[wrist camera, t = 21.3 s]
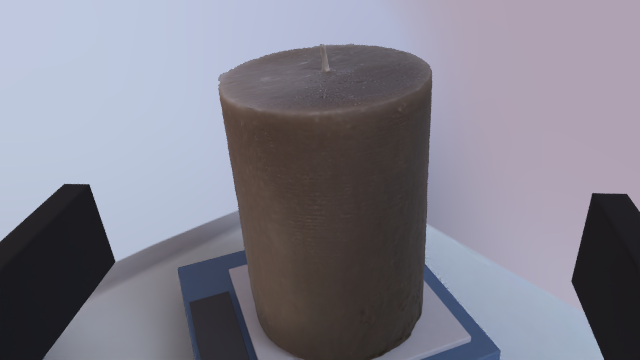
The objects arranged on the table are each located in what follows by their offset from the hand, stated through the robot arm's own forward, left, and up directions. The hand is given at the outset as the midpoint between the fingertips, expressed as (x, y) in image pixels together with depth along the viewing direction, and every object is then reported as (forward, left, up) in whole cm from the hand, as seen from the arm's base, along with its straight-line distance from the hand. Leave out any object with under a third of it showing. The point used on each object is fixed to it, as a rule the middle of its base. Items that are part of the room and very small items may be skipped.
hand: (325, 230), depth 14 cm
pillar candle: (-4, -10, -13) cm, 17 cm away
